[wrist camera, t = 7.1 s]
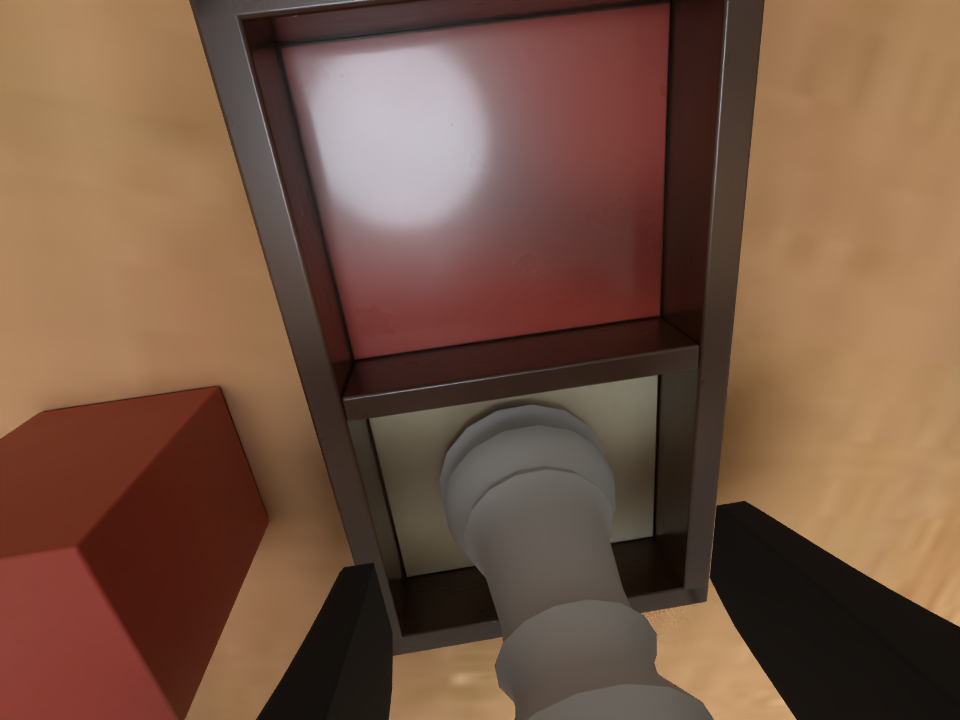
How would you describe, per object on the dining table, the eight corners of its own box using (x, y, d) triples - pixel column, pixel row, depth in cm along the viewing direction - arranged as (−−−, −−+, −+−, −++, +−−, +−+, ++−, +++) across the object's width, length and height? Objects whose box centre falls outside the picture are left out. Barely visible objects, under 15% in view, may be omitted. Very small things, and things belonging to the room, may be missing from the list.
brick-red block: (270, 522, 14) (182, 729, 9) (113, 546, 14) (-68, 773, 9) (219, 385, 12) (75, 547, 7) (39, 411, 12) (-239, 597, 7)
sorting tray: (666, 537, 16) (707, 602, 13) (388, 583, 15) (381, 658, 13) (694, -39, 10) (776, -97, 7) (238, 13, 9) (178, -32, 7)
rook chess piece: (612, 395, 13) (859, 722, 5) (588, 530, 15) (752, 915, 7) (440, 395, 12) (459, 753, 5) (437, 534, 14) (447, 953, 7)
